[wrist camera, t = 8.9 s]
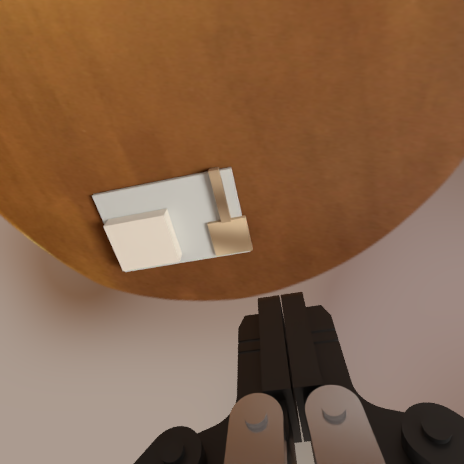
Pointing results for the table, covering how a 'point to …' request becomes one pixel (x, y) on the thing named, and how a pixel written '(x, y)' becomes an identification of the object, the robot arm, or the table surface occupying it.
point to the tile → (143, 240)
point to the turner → (227, 223)
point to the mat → (176, 208)
